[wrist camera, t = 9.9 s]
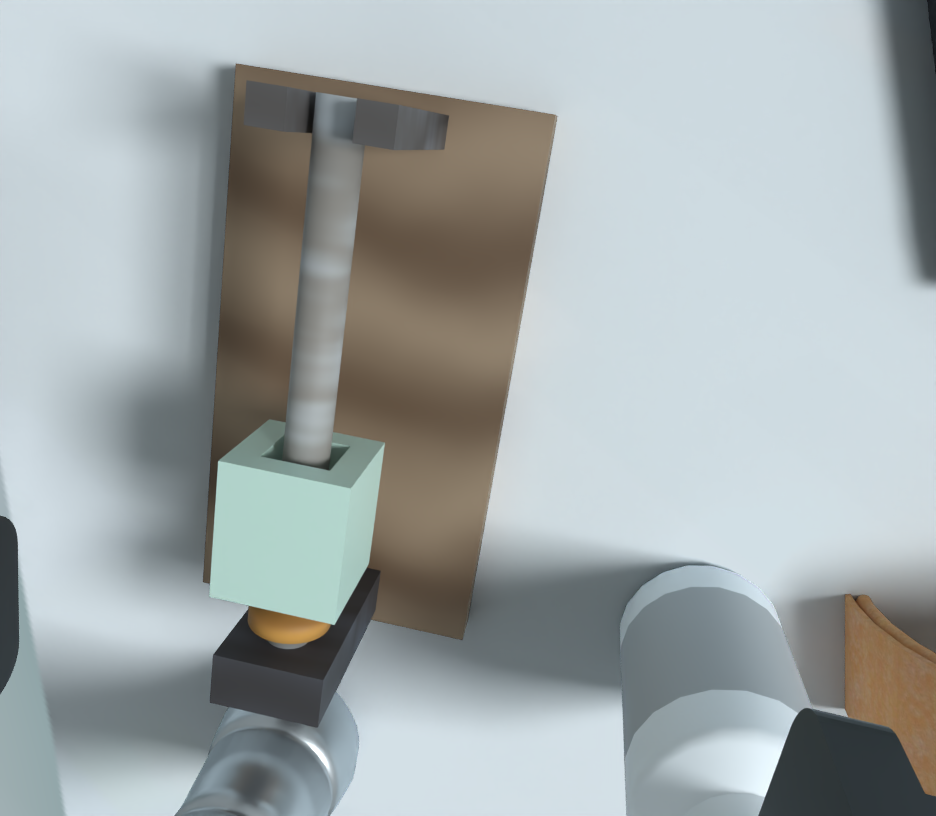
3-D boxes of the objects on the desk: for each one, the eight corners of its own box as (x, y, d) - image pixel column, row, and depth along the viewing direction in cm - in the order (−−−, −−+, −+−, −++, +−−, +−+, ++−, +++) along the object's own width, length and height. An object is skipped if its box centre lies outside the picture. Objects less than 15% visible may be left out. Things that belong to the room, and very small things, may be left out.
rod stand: (251, 67, 33) (119, 36, 24) (557, 116, 32) (539, 103, 23) (217, 566, 40) (104, 689, 31) (467, 621, 39) (426, 766, 30)
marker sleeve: (269, 419, 31) (218, 460, 27) (384, 442, 31) (350, 488, 27) (259, 539, 33) (209, 596, 29) (369, 563, 32) (334, 625, 28)
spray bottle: (769, 550, 35) (924, 924, 18) (789, 690, 37) (948, 1151, 20) (606, 572, 37) (609, 938, 20) (633, 705, 39) (657, 1148, 22)
